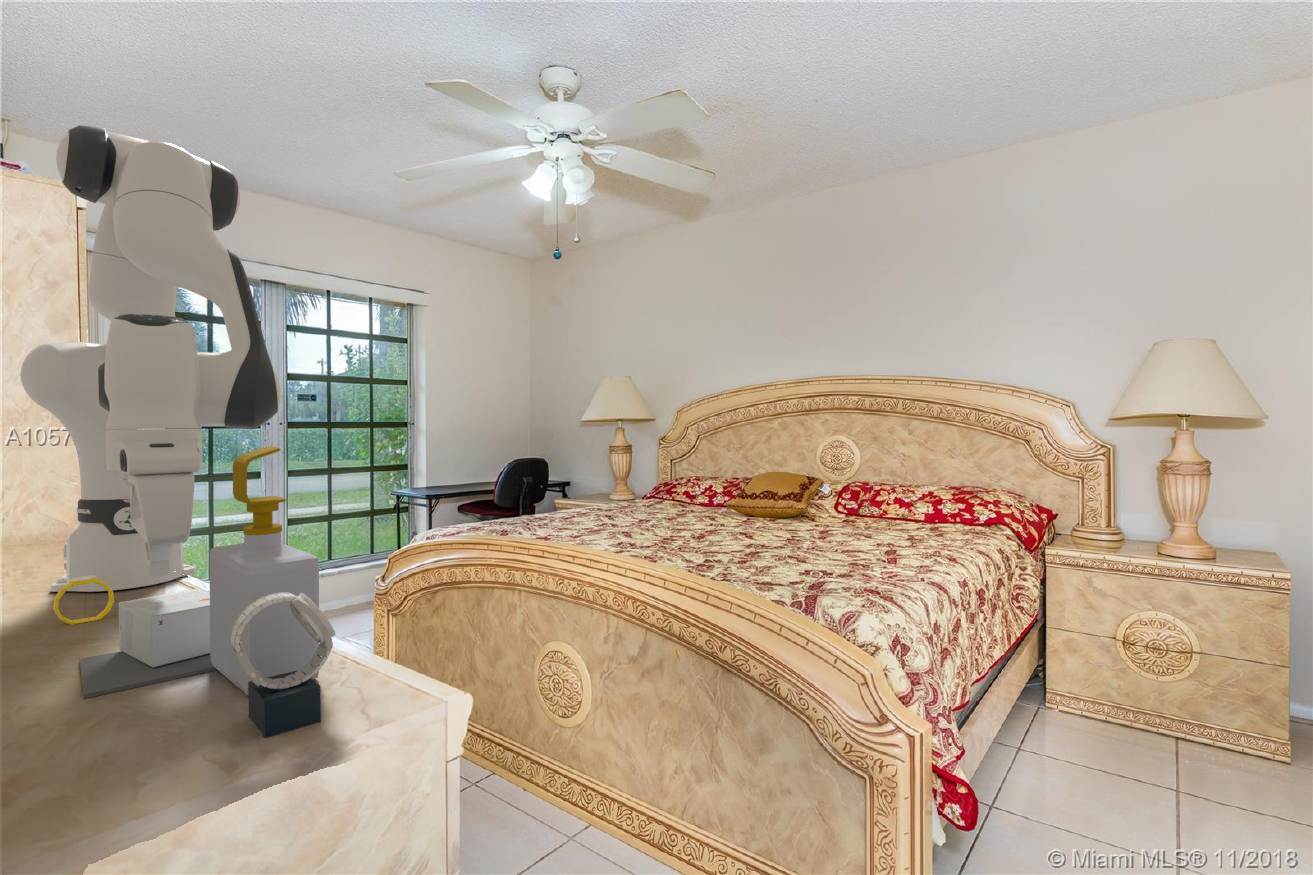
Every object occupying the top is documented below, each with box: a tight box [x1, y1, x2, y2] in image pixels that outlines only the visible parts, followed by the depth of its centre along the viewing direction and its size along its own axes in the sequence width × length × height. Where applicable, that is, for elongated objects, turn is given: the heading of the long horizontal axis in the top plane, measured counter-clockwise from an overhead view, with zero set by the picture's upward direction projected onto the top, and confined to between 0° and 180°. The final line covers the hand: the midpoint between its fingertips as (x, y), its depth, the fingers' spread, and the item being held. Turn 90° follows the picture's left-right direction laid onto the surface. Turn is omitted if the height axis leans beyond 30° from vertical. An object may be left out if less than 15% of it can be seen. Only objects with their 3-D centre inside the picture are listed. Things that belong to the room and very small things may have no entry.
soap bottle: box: [208, 445, 320, 696], centre depth 68 cm, size 12×7×23 cm, turn 49°
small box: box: [118, 588, 210, 668], centre depth 76 cm, size 8×6×10 cm
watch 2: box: [229, 592, 336, 739], centre depth 58 cm, size 6×8×11 cm
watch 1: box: [52, 575, 115, 626], centre depth 88 cm, size 6×3×6 cm, turn 138°
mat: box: [78, 650, 218, 699], centre depth 73 cm, size 13×14×1 cm
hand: (158, 574), depth 77 cm, fingers closed
